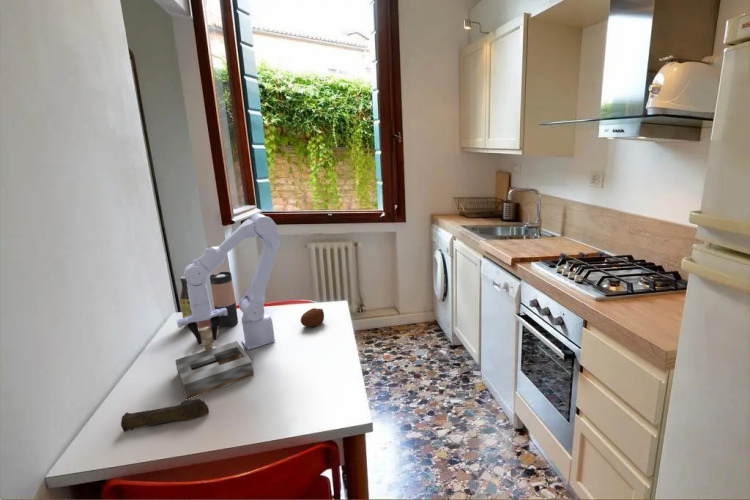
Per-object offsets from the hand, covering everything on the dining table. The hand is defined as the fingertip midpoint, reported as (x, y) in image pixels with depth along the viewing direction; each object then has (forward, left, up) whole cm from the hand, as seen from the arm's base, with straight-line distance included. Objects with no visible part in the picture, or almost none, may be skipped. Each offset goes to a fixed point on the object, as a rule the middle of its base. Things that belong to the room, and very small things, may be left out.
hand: (207, 341), depth 122 cm
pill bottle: (-3, -15, -5) cm, 16 cm away
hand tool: (+15, +27, -6) cm, 31 cm away
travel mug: (-11, -21, -5) cm, 24 cm away
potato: (-36, +2, -5) cm, 36 cm away
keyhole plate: (+1, +13, -5) cm, 14 cm away
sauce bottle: (0, -29, -5) cm, 29 cm away
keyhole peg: (0, 0, -5) cm, 5 cm away
